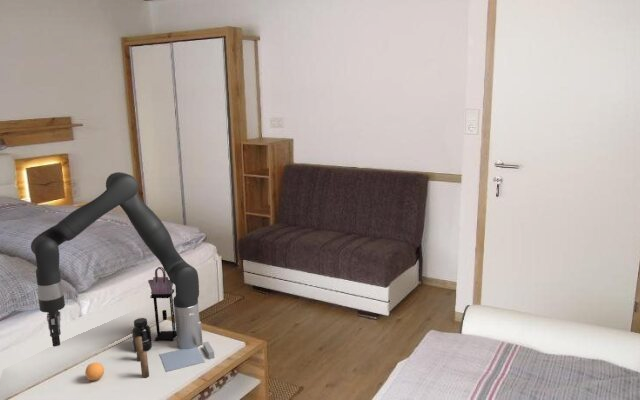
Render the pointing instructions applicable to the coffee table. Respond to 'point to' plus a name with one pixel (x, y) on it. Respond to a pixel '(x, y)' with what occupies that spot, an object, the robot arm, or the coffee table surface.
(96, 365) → the ball
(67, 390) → the coffee table surface
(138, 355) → the post
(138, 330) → the supplement bottle
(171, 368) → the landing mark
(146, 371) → the post
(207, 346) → the wall
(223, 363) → the coffee table surface
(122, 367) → the coffee table surface
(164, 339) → the handbag on black stand
